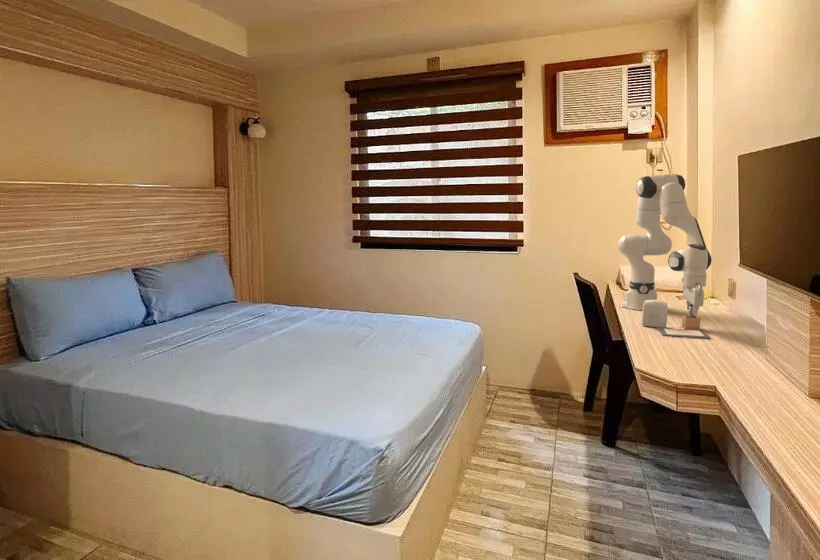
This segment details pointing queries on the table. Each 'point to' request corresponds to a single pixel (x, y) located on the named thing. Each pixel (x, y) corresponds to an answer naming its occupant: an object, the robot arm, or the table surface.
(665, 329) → the writing board
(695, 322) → the pen holder
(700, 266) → the robot arm
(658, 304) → the photo printer
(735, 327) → the table surface
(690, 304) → the marker
